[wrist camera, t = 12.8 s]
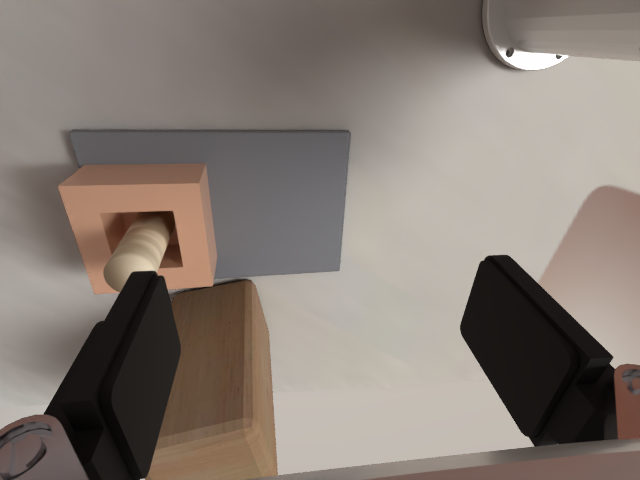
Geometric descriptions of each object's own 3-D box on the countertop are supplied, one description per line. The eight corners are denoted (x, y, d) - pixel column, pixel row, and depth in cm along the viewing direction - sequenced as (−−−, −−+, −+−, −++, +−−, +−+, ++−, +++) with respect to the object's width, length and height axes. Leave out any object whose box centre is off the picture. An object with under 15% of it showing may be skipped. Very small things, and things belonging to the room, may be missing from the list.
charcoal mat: (348, 130, 37) (350, 132, 36) (337, 266, 46) (339, 270, 45) (73, 129, 33) (68, 132, 32) (117, 280, 41) (114, 285, 41)
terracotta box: (205, 163, 36) (199, 183, 31) (217, 257, 41) (212, 286, 36) (84, 164, 34) (57, 186, 29) (113, 262, 39) (94, 294, 34)
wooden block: (269, 332, 49) (280, 491, 32) (197, 348, 49) (168, 519, 32) (253, 274, 44) (255, 427, 27) (171, 291, 43) (121, 459, 26)
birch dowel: (172, 202, 36) (148, 254, 27) (178, 234, 38) (157, 292, 29) (134, 204, 35) (97, 257, 27) (141, 236, 37) (110, 296, 29)
